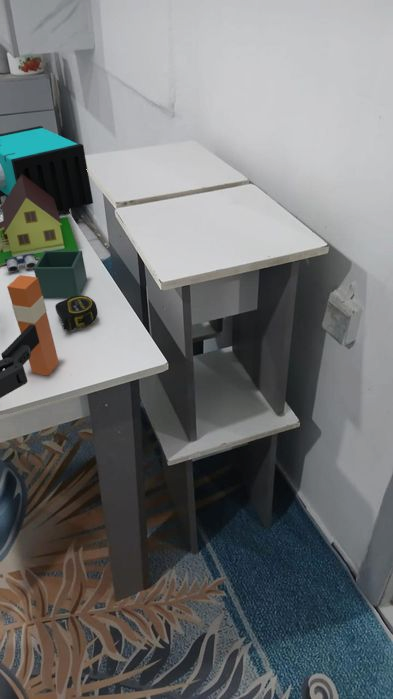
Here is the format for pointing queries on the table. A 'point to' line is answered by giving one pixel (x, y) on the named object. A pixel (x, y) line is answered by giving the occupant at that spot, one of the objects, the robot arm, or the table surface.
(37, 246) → the house model
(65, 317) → the tape measure
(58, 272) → the open box
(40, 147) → the electronic device
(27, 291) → the block
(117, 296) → the table surface
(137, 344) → the table surface
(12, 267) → the ultrasonic sensor
